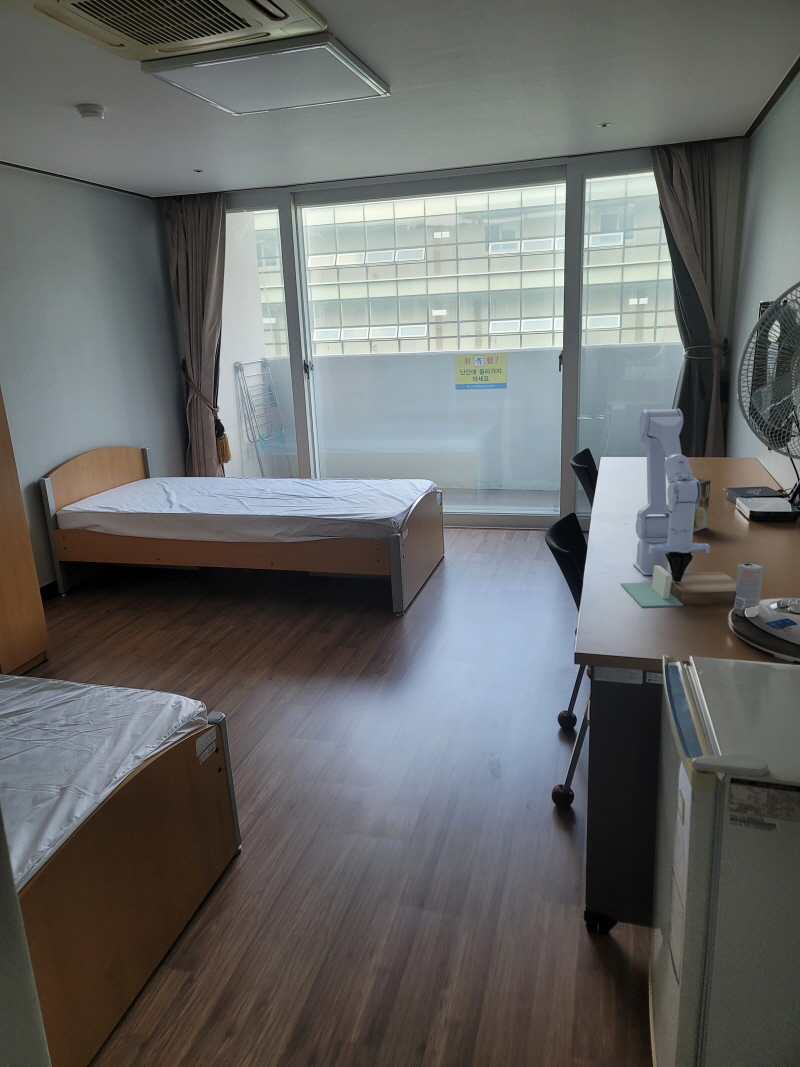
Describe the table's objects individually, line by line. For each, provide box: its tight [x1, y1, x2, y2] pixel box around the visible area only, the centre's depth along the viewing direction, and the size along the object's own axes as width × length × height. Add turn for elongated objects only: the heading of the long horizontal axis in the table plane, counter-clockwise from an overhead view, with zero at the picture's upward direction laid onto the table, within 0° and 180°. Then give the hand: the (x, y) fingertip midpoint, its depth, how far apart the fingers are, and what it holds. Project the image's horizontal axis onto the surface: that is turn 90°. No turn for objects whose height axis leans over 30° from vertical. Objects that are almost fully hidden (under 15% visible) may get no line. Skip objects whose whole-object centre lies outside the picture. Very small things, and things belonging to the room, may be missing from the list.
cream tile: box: [651, 565, 672, 599], centre depth 181 cm, size 8×6×2 cm
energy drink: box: [732, 561, 764, 610], centre depth 168 cm, size 5×5×12 cm
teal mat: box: [620, 581, 684, 608], centre depth 182 cm, size 16×10×1 cm, turn 1°
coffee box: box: [693, 478, 712, 533], centre depth 237 cm, size 9×6×16 cm
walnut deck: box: [670, 571, 736, 605], centre depth 182 cm, size 14×16×3 cm
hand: (676, 580), depth 181 cm, fingers closed
